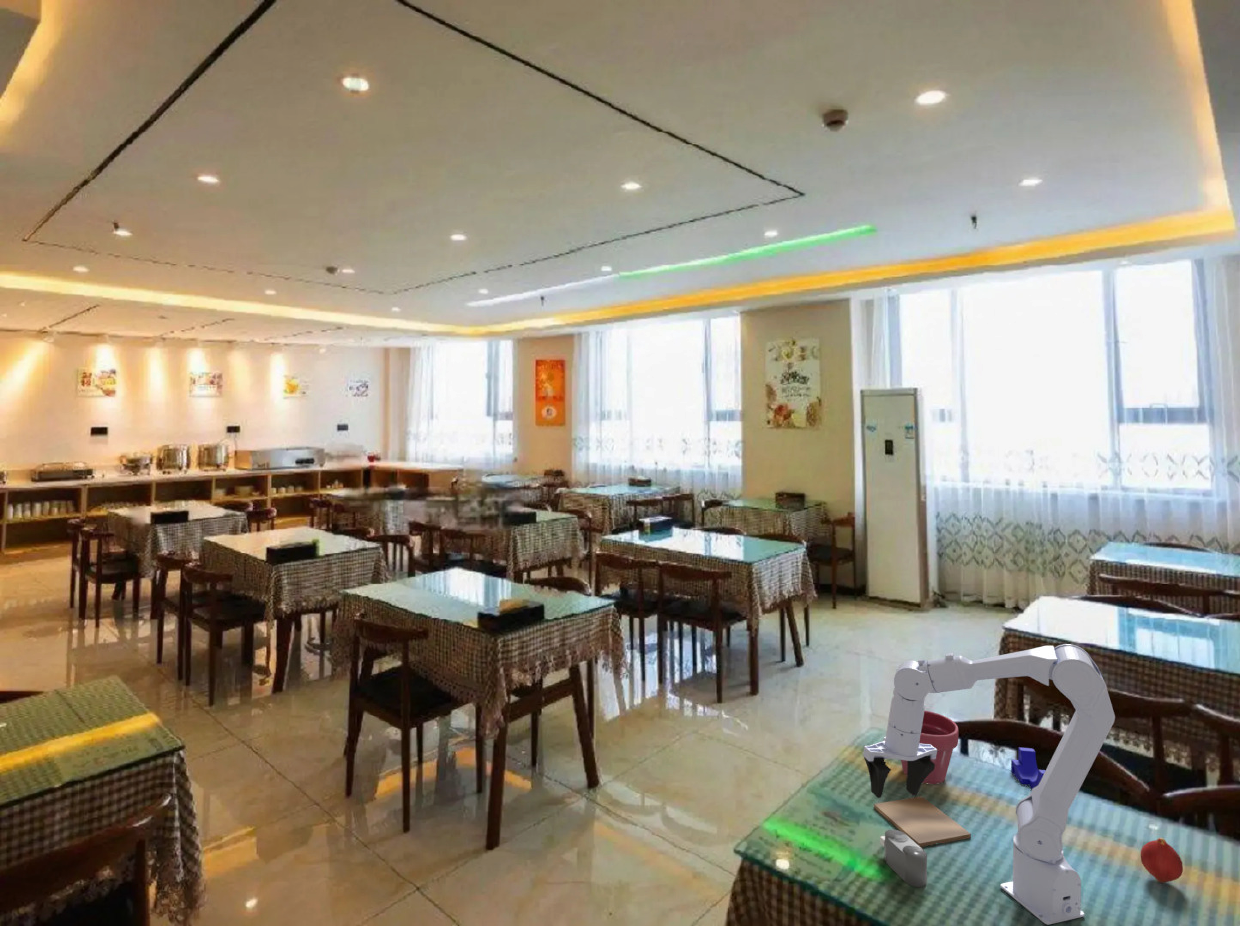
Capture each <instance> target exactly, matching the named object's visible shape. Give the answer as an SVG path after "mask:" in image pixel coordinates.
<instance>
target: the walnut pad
mask: <svg viewBox="0 0 1240 926" xmlns="http://www.w3.org/2000/svg"><path fill="white" fill-rule="evenodd" d="M873 809H875V810H876V811H877V812H878V813H879V814H880V815H882V816H883V818H885V819H886V820H887V821H888V822H890V823H891V825H893V827H895V828H896V830H898V831H901V832H903V833H905V834H906V835H907V836H908V837H909V838H910V839H912V840H913V841H914V842H915V843H916V844H917V845H918V846H919V847H921V848H925V847H928V846H927V845H930V846H934V845H933V844H936V843H941V844H946V843H950V842H957V841H961V840H967V839H971V837H972V834H971V833H970V832H969V831H968V830H967V829H965V828H964V827H963V826H961V825H960V824H958V822H956V821H955V820H953V818H951V817H950V816H948V815H947V814H946V813H944V812H943V811H942V810H940V809H939V808H938V807H937V806H935V805H934V804H933V803H931V802H930V801H929V800H927V799H926V798H925V797H923V796H921V795H920V796H913V797H908V798H903V799H897V800H890V801H885V802H878V803H874V804H873ZM936 845H937V844H936ZM924 846H925V847H924Z"/></svg>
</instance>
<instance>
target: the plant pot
mask: <svg viewBox="0 0 1240 926" xmlns="http://www.w3.org/2000/svg"><path fill="white" fill-rule="evenodd" d="M919 743H920V744H930V745H932V746H933V747H934V748H936V749H937V754H936V759H930V760H931V761H932V762H933V763H934V764H935V769H934V770H933V771H932V772H931V773H930V774H929V775H928V776H927V777H926V778H925V780H924V781H923V783H922V784H925V783H928V784H927V785H938V784H937V783H939V784H941V782H942V783H943V782H945V780H946V777H947V773H948V770H949V766H950V763H951V758H952V755H953V750H954V749H955V748H957V746H958V745H959V727H958V725H957V724H956V722H954V721H953V720H952V719H950V718H948V717H947V716H945V715H942V714H940V713H937V712H933V711H929V710H924V717H923V723H922V729H921V735H920V741H919ZM900 763H901V768H902V771H903V774H904V775H905V776H906V777H907V769H908V765H907V761H906V760H900Z"/></svg>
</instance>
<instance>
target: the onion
mask: <svg viewBox="0 0 1240 926" xmlns="http://www.w3.org/2000/svg"><path fill="white" fill-rule="evenodd" d="M1140 861H1141V864H1142V866H1143V867H1144V870H1146V871H1147V872H1148V873H1149V874H1150V875H1151V876H1152V877H1154V878H1155V880H1156V881H1157V882H1159V883H1161V884H1164V883H1169V882H1172V881H1176V880H1178V879H1180V877H1181V876H1182V875H1183V872H1184V867H1183V866H1184V865H1183V861H1182V858H1181V857H1180V855H1179V854H1178V852H1177V851H1176V850H1175V849H1174V847H1172V845H1170V843H1169V844H1168V842H1167V841H1166V840H1165V839H1164V838H1163V837H1159V838H1157V839H1156V840H1150V841H1148V842H1147V843H1145V844H1144V845H1143V846H1142V847H1141V849H1140Z"/></svg>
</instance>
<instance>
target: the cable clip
mask: <svg viewBox="0 0 1240 926" xmlns="http://www.w3.org/2000/svg"><path fill="white" fill-rule="evenodd" d="M1017 750H1018V752H1017V753H1018V755H1017V757H1018V759H1012V758H1011V761H1010V765H1011V766H1010V771H1011V773H1012V774H1013V775H1014V777H1015V778H1016V779H1017V780H1018V781H1019V783H1020V784H1021V785H1026V786H1029V787H1030V788H1031V790H1032V789H1033V788H1034V787H1036V786H1038V785H1039V783H1040V781H1041V779H1042V777H1043V775H1044V773H1045V771H1046V770H1045V769H1039V768H1038V765H1037V760H1036V759H1037V757H1036V751H1035V749H1034V748H1029V747H1018V748H1017Z"/></svg>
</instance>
